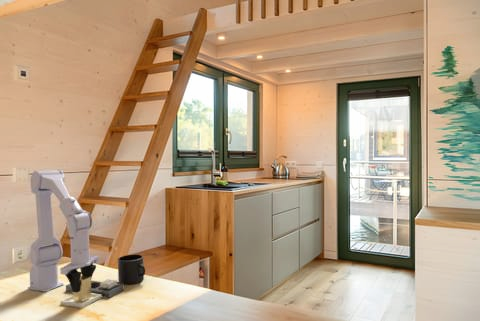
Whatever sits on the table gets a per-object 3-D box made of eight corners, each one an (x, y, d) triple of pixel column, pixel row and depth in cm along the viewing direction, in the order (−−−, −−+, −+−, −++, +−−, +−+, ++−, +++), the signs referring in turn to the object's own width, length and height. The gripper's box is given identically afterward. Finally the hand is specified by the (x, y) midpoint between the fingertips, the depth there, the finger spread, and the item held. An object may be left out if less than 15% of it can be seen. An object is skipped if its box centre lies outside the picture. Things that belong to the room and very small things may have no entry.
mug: (136, 287, 134) (135, 263, 134) (113, 282, 140) (112, 259, 140) (153, 279, 143) (153, 256, 142) (131, 275, 148) (130, 253, 148)
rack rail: (65, 290, 132) (65, 280, 132) (81, 284, 139) (81, 273, 139) (109, 297, 125) (109, 286, 125) (123, 290, 132) (123, 279, 131)
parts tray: (60, 304, 120) (60, 301, 120) (81, 294, 128) (81, 291, 128) (81, 308, 117) (81, 304, 117) (101, 297, 125) (101, 294, 125)
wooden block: (72, 300, 121) (72, 279, 121) (82, 295, 125) (81, 275, 125) (82, 301, 120) (81, 280, 120) (91, 297, 123) (90, 276, 123)
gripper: (71, 255, 114) (72, 298, 114) (104, 244, 127) (106, 283, 128) (55, 253, 117) (56, 296, 117) (89, 243, 130) (90, 281, 130)
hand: (81, 289), depth 122 cm, fingers closed on wooden block, 4 cm apart
